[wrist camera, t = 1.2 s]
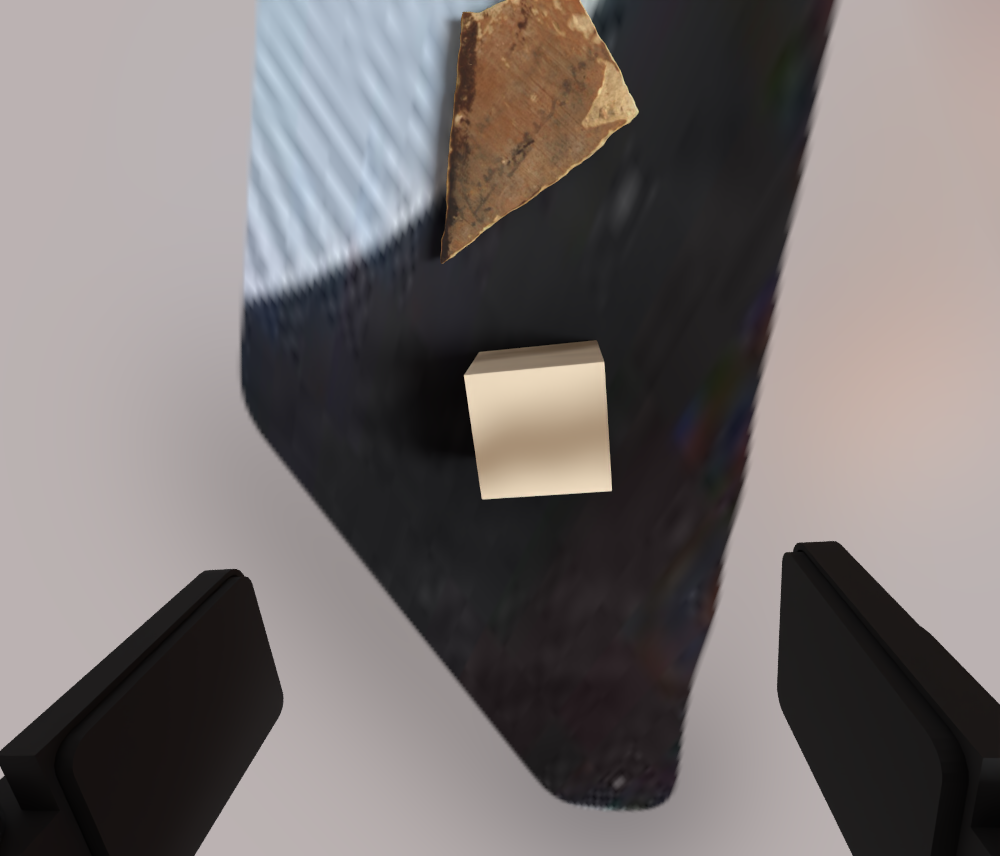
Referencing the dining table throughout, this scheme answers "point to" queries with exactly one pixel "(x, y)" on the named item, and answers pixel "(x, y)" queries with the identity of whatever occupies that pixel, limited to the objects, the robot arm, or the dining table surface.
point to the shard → (525, 109)
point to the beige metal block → (540, 420)
